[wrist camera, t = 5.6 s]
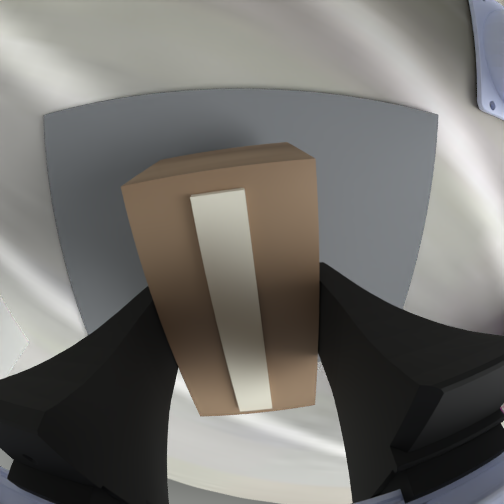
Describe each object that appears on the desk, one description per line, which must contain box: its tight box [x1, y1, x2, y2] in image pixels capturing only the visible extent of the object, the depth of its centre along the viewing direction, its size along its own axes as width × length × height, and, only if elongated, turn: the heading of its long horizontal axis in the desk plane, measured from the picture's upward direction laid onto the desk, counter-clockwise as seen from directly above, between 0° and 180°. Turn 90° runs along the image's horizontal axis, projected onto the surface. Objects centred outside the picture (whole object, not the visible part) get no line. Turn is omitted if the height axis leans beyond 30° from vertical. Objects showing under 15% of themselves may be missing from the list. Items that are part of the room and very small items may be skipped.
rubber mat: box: [44, 89, 438, 362], centre depth 13 cm, size 18×14×1 cm
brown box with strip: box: [121, 142, 319, 416], centre depth 10 cm, size 9×4×4 cm, turn 7°
